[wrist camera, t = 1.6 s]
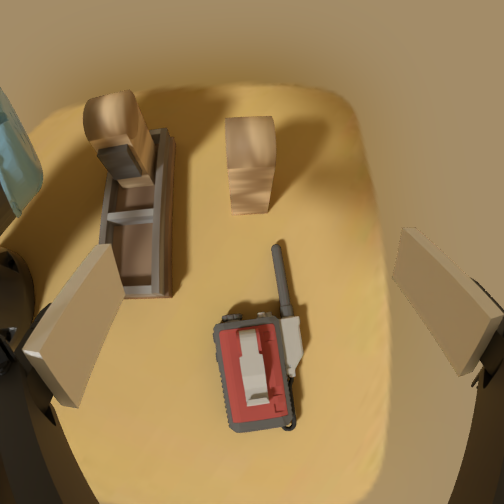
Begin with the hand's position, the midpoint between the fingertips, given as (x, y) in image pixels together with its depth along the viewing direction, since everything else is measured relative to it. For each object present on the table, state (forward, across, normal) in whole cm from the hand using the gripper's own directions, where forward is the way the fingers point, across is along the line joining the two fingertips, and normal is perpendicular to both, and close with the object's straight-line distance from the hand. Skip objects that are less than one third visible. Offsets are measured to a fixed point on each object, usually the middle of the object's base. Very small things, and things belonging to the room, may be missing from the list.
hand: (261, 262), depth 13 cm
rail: (+22, -13, -5) cm, 26 cm away
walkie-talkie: (+12, 0, -17) cm, 20 cm away
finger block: (+23, 0, -4) cm, 23 cm away
